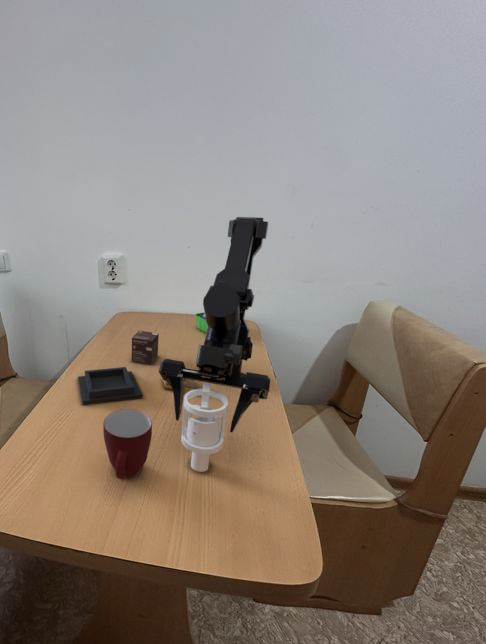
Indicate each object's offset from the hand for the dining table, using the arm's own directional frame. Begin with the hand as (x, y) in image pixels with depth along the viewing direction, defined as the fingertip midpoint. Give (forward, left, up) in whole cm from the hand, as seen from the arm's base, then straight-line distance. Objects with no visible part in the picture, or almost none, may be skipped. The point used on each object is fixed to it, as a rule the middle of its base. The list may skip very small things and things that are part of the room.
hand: (203, 426), depth 63 cm
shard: (-20, -21, -9) cm, 30 cm away
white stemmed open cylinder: (0, 0, -9) cm, 9 cm away
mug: (+11, -7, -9) cm, 16 cm away
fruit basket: (-55, -38, -9) cm, 67 cm away
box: (-23, -38, -9) cm, 45 cm away
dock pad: (-5, -32, -8) cm, 33 cm away
